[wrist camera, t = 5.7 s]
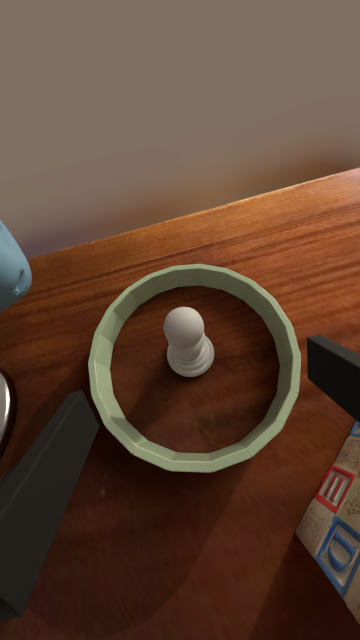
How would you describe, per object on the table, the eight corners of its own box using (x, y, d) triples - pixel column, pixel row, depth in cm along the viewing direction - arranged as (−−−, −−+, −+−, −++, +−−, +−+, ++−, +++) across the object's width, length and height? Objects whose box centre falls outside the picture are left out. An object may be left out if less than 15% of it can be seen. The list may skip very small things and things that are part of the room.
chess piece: (163, 339, 23) (141, 300, 15) (205, 327, 23) (205, 282, 15) (173, 383, 21) (154, 365, 13) (220, 369, 21) (230, 342, 13)
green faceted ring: (72, 416, 21) (48, 417, 18) (144, 270, 28) (137, 253, 25) (272, 503, 16) (289, 525, 13) (293, 299, 24) (307, 281, 21)
